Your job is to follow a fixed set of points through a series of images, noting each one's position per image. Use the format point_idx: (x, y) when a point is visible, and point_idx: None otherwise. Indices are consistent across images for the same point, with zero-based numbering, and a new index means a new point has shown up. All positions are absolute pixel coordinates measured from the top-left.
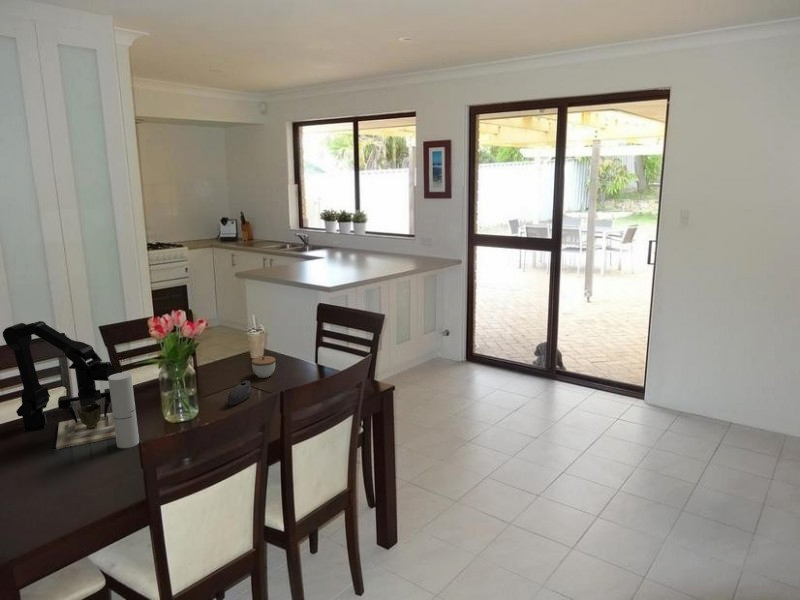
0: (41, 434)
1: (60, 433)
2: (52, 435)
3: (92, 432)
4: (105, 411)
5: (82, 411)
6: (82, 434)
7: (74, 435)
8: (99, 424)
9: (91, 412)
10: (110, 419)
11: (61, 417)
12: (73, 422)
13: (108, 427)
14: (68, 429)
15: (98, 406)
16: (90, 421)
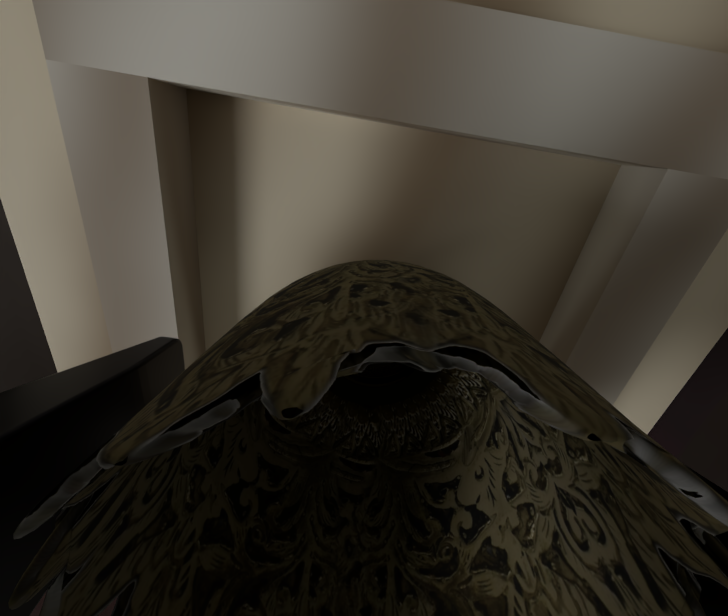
0: (725, 462)
1: (673, 364)
2: (686, 401)
3: (426, 7)
4: (49, 391)
5: (477, 589)
6: (586, 32)
7: (713, 58)
8: None
9: (365, 366)
10: (152, 333)
11: None
12: None
13: (146, 13)
14: (648, 343)
15: (162, 614)
16: (408, 263)
